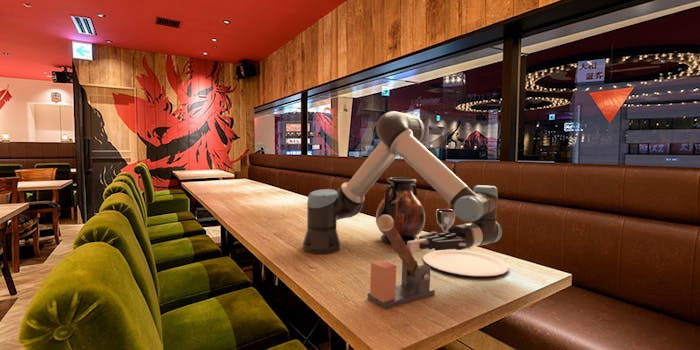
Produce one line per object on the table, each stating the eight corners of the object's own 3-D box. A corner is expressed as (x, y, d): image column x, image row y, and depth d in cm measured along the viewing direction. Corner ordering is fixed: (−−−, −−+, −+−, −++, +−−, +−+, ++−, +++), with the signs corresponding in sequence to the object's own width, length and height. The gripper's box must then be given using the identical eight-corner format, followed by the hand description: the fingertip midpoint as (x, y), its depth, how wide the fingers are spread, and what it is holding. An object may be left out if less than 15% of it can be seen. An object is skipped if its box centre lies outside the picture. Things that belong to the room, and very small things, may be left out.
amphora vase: (398, 233, 173) (400, 175, 171) (434, 243, 157) (437, 179, 154) (365, 239, 160) (366, 177, 158) (400, 251, 143) (403, 181, 141)
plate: (454, 249, 149) (454, 245, 149) (524, 269, 127) (524, 264, 126) (406, 262, 131) (406, 257, 131) (478, 287, 108) (478, 282, 108)
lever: (416, 267, 105) (381, 209, 96) (427, 271, 101) (392, 212, 92) (407, 278, 103) (371, 220, 94) (418, 283, 100) (381, 224, 91)
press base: (414, 285, 108) (415, 257, 108) (436, 295, 101) (437, 266, 100) (366, 297, 98) (367, 267, 98) (386, 310, 91) (388, 277, 90)
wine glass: (454, 247, 150) (456, 212, 149) (435, 246, 152) (436, 211, 150) (453, 243, 158) (454, 209, 157) (434, 241, 159) (436, 208, 158)
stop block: (381, 291, 99) (382, 259, 98) (395, 299, 94) (396, 265, 94) (370, 294, 97) (371, 262, 96) (383, 302, 92) (384, 268, 91)
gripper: (481, 253, 107) (425, 266, 94) (447, 243, 118) (393, 253, 105) (482, 228, 107) (426, 238, 94) (448, 220, 118) (393, 228, 104)
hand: (408, 246), depth 99 cm, fingers closed
